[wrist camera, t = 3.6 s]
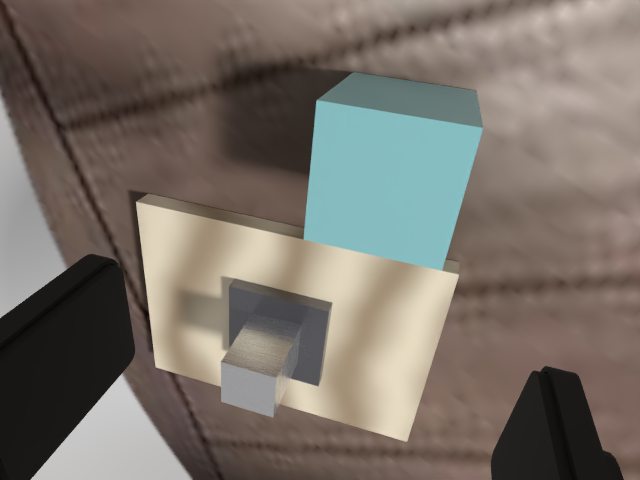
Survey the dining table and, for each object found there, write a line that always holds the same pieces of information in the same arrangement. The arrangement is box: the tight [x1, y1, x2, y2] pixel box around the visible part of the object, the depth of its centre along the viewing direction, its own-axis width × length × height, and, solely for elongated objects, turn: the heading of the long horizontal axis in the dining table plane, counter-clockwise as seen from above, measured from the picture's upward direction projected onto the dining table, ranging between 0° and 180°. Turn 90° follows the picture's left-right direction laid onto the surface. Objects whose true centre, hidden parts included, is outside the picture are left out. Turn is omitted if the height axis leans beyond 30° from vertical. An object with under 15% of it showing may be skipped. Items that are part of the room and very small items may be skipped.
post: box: [221, 278, 333, 418], centre depth 31 cm, size 7×7×8 cm
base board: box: [136, 194, 459, 442], centre depth 34 cm, size 22×16×2 cm
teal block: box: [304, 72, 483, 271], centre depth 23 cm, size 7×7×8 cm
